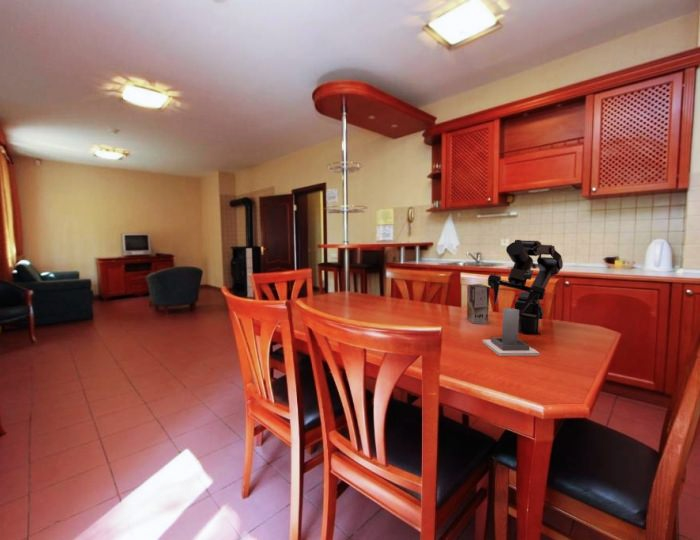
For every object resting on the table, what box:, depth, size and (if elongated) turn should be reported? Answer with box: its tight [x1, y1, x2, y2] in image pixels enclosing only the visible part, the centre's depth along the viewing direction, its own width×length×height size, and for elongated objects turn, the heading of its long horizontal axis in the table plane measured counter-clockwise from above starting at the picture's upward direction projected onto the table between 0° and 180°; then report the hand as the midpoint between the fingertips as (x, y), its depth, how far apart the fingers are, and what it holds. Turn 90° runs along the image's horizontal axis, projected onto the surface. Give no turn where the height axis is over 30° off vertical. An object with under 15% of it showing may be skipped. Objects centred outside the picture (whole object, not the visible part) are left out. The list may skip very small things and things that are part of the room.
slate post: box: [501, 307, 519, 345], centre depth 112 cm, size 5×5×12 cm
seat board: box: [481, 336, 540, 357], centre depth 112 cm, size 13×13×2 cm
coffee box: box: [466, 283, 491, 325], centre depth 146 cm, size 9×6×16 cm
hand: (508, 307), depth 118 cm, fingers open, 9 cm apart
